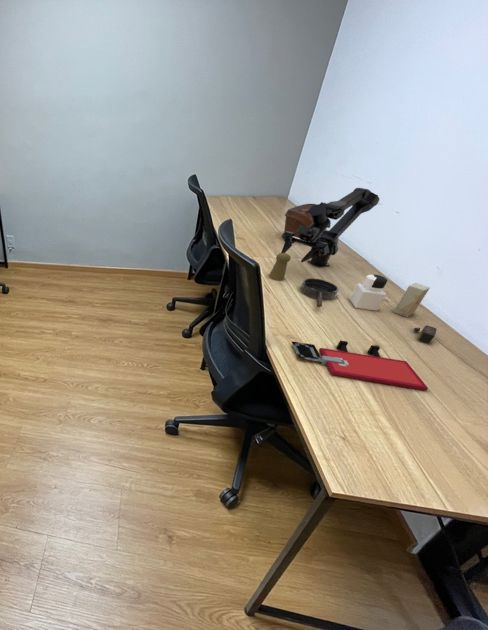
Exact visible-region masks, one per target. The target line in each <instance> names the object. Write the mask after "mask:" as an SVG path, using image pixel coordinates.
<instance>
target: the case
mask: <svg viewBox="0 0 488 630" xmlns="http://www.w3.org/2000/svg"><path fill="white" fill-rule="evenodd" d="M314 205H317V203H305V204H300V205H297V206H294V207H291V208H288V209H287V210H286V212H285V213H284V217H285V221H284V230H283V233H284V232H286V231H288V232H292V233H294V234H295V237H297V238H300V236H299V233H297V230H298V229H299V227H300V225H302V226H306V227H307V226H310V225H311V224H312V223H313V222H312V221H311V219H310V215H309V209H310V208H311V207H312V206H314Z"/></svg>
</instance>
